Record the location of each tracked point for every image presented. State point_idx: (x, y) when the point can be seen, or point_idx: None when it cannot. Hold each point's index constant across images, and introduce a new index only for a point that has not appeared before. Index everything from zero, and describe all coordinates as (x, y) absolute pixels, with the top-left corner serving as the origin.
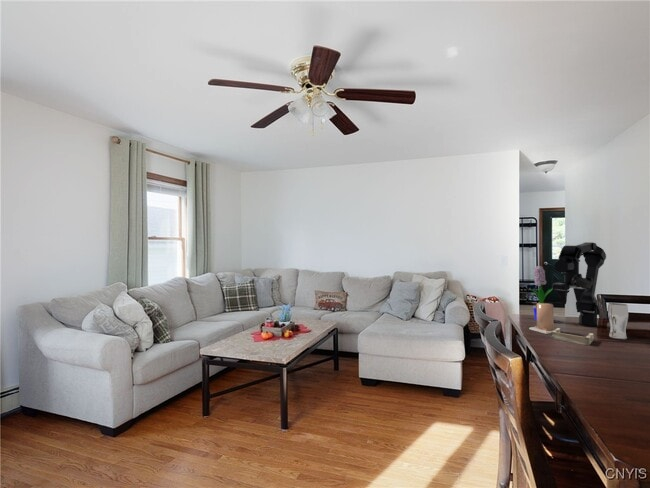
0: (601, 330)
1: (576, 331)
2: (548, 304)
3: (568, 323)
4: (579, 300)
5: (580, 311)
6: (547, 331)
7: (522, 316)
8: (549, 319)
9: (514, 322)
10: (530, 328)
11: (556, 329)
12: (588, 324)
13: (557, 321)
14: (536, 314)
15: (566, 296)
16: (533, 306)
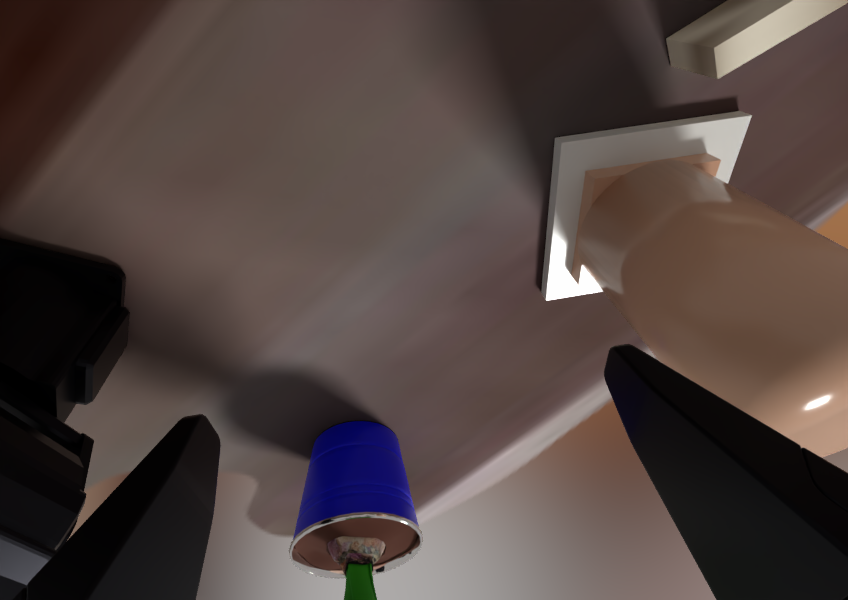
0: (19, 94)
1: (371, 124)
2: (829, 383)
3: (212, 369)
4: (182, 460)
5: (57, 433)
6: (713, 135)
7: None
8: (755, 201)
9: (582, 417)
10: None
11: (815, 10)
12: (68, 278)
13: (260, 419)
14: (407, 482)
15: (797, 487)
16: (391, 565)
